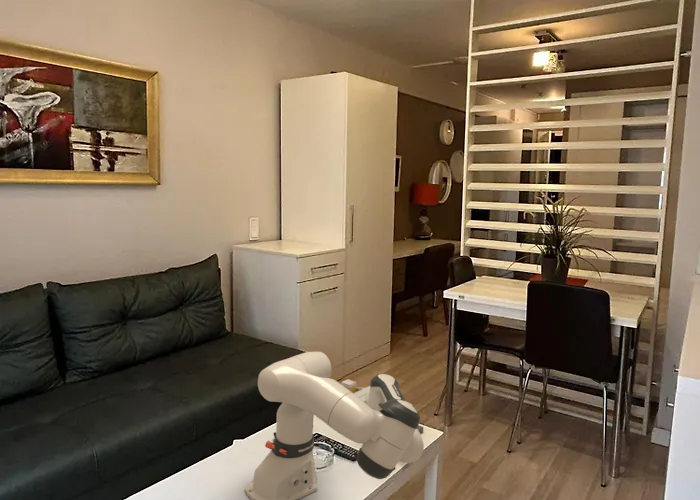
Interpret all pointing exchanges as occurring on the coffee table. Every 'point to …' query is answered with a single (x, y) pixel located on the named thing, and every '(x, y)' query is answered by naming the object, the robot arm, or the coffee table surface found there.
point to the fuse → (349, 385)
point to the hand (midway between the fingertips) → (346, 392)
